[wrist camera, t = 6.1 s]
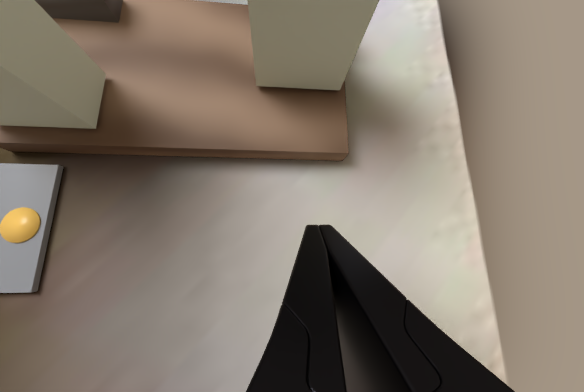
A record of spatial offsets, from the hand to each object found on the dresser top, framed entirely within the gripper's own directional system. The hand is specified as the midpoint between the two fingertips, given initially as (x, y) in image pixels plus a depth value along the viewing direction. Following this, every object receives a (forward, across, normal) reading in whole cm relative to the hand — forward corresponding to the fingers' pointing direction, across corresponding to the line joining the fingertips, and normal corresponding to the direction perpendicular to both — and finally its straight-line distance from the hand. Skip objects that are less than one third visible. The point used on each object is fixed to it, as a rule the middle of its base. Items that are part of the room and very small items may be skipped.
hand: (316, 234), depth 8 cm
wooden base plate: (+14, +8, -3) cm, 17 cm away
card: (+7, +19, +5) cm, 21 cm away
